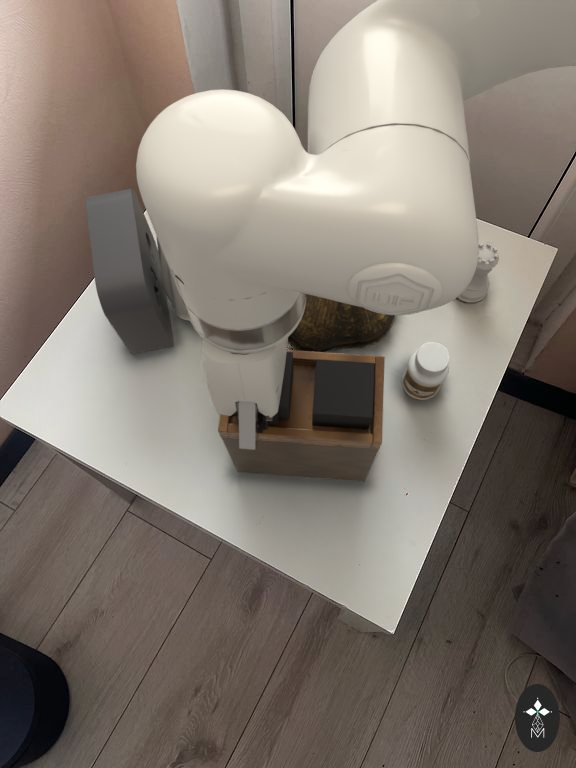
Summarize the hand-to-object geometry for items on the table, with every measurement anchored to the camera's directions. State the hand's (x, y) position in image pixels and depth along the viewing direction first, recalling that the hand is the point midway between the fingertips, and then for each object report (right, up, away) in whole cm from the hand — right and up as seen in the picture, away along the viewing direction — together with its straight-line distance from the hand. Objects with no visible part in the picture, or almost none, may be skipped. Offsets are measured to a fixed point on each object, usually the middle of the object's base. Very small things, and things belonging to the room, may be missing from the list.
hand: (263, 390), depth 54 cm
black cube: (0, 0, 0) cm, 0 cm away
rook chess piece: (+24, +12, +21) cm, 35 cm away
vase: (-5, +12, +22) cm, 26 cm away
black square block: (+7, -1, +1) cm, 7 cm away
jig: (+4, -6, +15) cm, 16 cm away
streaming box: (-18, +12, +15) cm, 26 cm away
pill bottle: (+18, +1, +17) cm, 24 cm away
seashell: (+7, +8, +20) cm, 23 cm away
